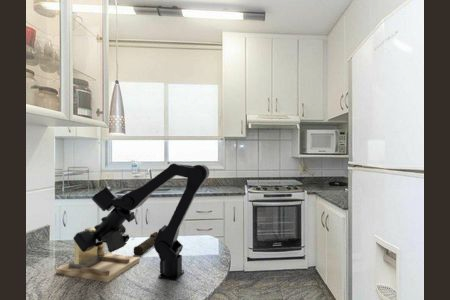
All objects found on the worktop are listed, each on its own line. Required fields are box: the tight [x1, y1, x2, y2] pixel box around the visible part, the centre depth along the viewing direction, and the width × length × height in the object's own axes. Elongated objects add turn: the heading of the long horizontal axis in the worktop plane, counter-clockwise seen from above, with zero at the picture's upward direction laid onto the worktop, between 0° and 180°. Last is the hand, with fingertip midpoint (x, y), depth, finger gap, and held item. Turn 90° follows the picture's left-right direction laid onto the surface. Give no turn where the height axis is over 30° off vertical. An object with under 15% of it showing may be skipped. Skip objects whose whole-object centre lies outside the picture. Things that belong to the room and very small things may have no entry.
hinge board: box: [55, 227, 141, 283], centre depth 88 cm, size 22×16×12 cm
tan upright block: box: [68, 241, 105, 269], centre depth 89 cm, size 7×12×10 cm, turn 163°
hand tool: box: [133, 231, 158, 256], centre depth 107 cm, size 19×4×5 cm, turn 168°
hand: (88, 249), depth 87 cm, fingers closed, pressing on tan upright block
